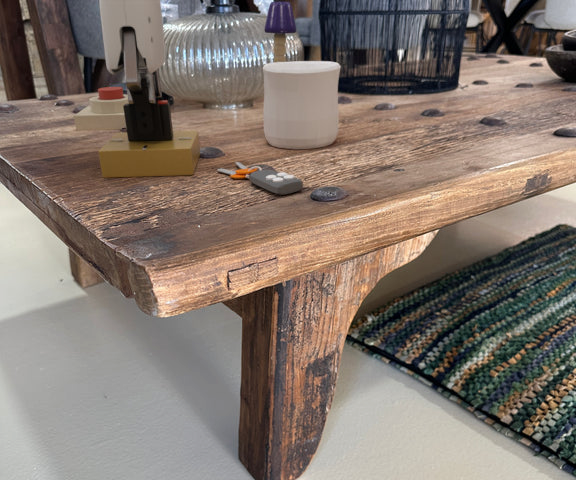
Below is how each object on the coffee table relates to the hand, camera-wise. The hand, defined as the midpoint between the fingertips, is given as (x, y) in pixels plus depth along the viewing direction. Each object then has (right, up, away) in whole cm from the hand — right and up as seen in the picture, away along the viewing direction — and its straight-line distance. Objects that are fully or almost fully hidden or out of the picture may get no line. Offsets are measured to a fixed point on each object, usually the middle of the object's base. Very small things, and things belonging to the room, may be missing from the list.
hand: (150, 135), depth 66 cm
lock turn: (0, 0, 0) cm, 1 cm away
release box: (-11, +8, +23) cm, 27 cm away
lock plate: (0, -3, +2) cm, 4 cm away
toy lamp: (+15, +8, +24) cm, 29 cm away
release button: (-11, +11, +22) cm, 27 cm away
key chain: (+12, -6, -4) cm, 14 cm away
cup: (+18, +2, +11) cm, 21 cm away
